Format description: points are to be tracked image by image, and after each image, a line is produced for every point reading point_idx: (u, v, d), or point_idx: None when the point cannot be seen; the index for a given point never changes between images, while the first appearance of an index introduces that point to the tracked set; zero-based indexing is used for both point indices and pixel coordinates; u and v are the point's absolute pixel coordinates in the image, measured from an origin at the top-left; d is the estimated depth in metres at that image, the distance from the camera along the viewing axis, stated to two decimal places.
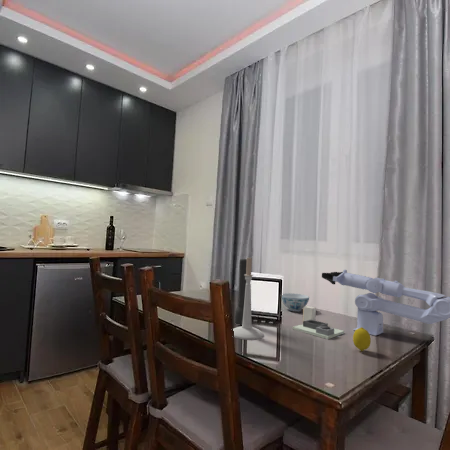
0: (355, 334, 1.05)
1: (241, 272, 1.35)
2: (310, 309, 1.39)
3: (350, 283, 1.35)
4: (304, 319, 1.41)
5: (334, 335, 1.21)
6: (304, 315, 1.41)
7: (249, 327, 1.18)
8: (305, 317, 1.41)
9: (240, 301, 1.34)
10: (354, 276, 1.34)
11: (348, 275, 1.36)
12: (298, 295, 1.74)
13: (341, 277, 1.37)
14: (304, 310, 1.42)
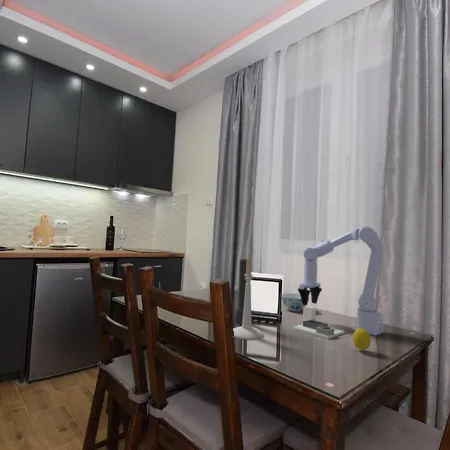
0: (355, 334, 1.05)
1: (241, 272, 1.35)
2: (310, 309, 1.39)
3: (309, 275, 1.40)
4: (304, 319, 1.41)
5: (334, 335, 1.21)
6: (304, 315, 1.41)
7: (249, 327, 1.18)
8: (305, 317, 1.41)
9: (240, 301, 1.34)
10: (305, 272, 1.42)
11: (304, 278, 1.42)
12: (298, 295, 1.74)
13: (305, 284, 1.41)
14: (304, 310, 1.42)
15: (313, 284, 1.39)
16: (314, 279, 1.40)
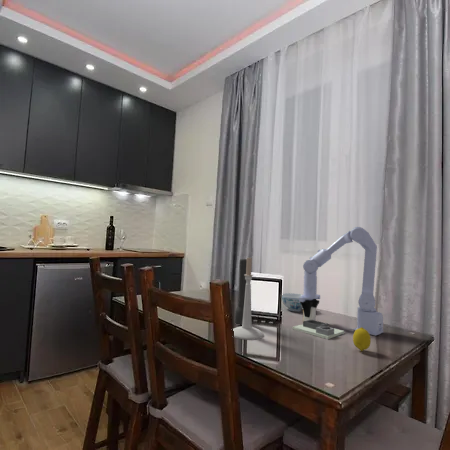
0: (355, 334, 1.05)
1: (241, 272, 1.35)
2: None
3: (309, 288, 1.40)
4: (304, 319, 1.41)
5: (334, 335, 1.21)
6: (304, 315, 1.41)
7: (249, 327, 1.18)
8: (305, 317, 1.41)
9: (240, 301, 1.34)
10: (304, 284, 1.41)
11: None
12: (298, 295, 1.74)
13: (304, 296, 1.40)
14: None
15: (313, 296, 1.39)
16: (314, 291, 1.39)
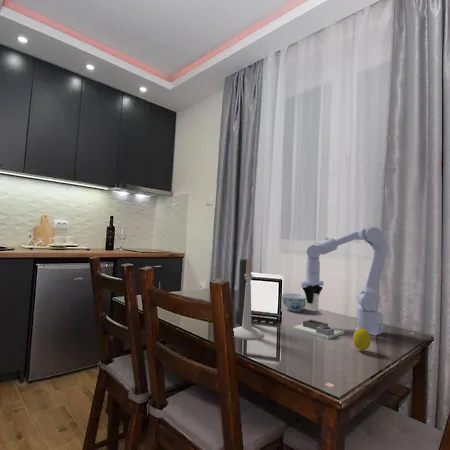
0: (355, 334, 1.05)
1: (241, 272, 1.35)
2: None
3: (312, 273, 1.36)
4: (306, 306, 1.38)
5: (334, 335, 1.21)
6: (306, 302, 1.38)
7: (249, 327, 1.18)
8: (307, 304, 1.37)
9: (240, 301, 1.34)
10: (308, 270, 1.37)
11: (306, 276, 1.38)
12: (298, 295, 1.74)
13: None
14: None
15: (316, 282, 1.35)
16: (317, 277, 1.36)
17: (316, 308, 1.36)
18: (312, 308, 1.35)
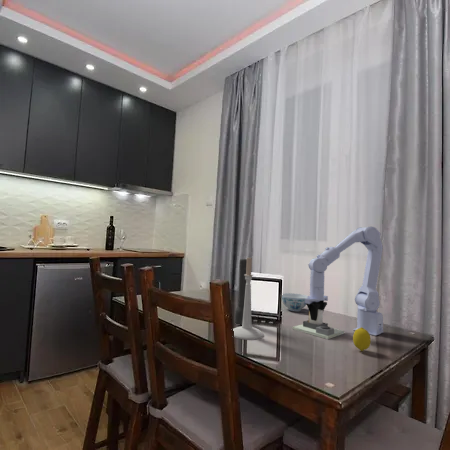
0: (355, 334, 1.05)
1: (241, 272, 1.35)
2: None
3: (316, 288, 1.28)
4: None
5: (334, 335, 1.21)
6: (310, 318, 1.30)
7: (249, 327, 1.18)
8: (311, 320, 1.30)
9: (240, 301, 1.34)
10: (313, 285, 1.29)
11: (310, 291, 1.31)
12: (298, 295, 1.74)
13: (311, 298, 1.29)
14: None
15: (320, 298, 1.28)
16: (321, 292, 1.28)
17: None
18: None
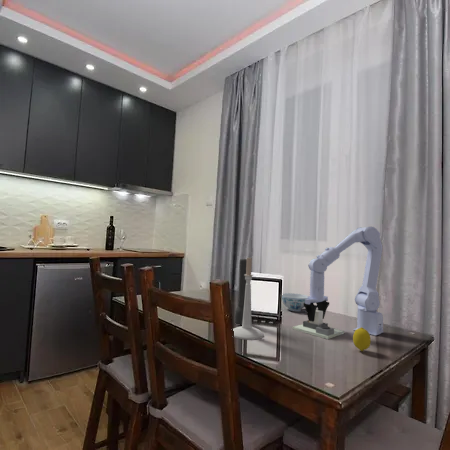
0: (355, 334, 1.05)
1: (241, 272, 1.35)
2: (317, 313, 1.28)
3: (316, 289, 1.28)
4: None
5: (334, 335, 1.21)
6: None
7: (249, 327, 1.18)
8: (311, 321, 1.30)
9: (240, 301, 1.34)
10: (313, 286, 1.29)
11: (310, 291, 1.31)
12: (298, 295, 1.74)
13: (311, 298, 1.29)
14: None
15: (320, 298, 1.28)
16: (321, 293, 1.28)
17: None
18: None
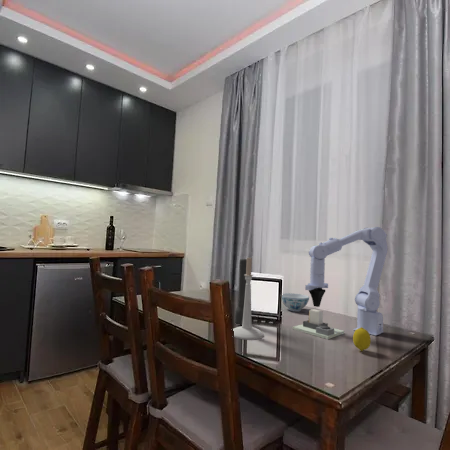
0: (355, 334, 1.05)
1: (241, 272, 1.35)
2: (317, 313, 1.28)
3: (316, 275, 1.28)
4: None
5: (334, 335, 1.21)
6: (310, 319, 1.30)
7: (249, 327, 1.18)
8: (311, 321, 1.30)
9: (240, 301, 1.34)
10: (314, 272, 1.29)
11: (310, 278, 1.31)
12: (298, 295, 1.74)
13: (311, 285, 1.29)
14: (310, 314, 1.30)
15: (320, 285, 1.28)
16: (321, 279, 1.28)
17: None
18: None
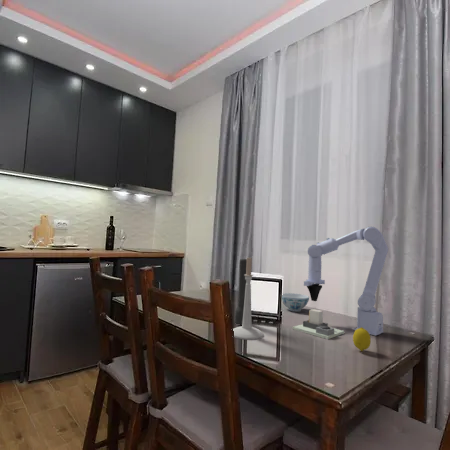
0: (355, 334, 1.05)
1: (241, 272, 1.35)
2: (317, 313, 1.28)
3: (314, 272, 1.40)
4: None
5: (334, 335, 1.21)
6: (310, 319, 1.30)
7: (249, 327, 1.18)
8: (311, 321, 1.30)
9: (240, 301, 1.34)
10: (309, 269, 1.43)
11: (308, 275, 1.43)
12: (298, 295, 1.74)
13: (309, 281, 1.41)
14: (310, 314, 1.30)
15: (318, 281, 1.40)
16: (318, 276, 1.40)
17: None
18: None
